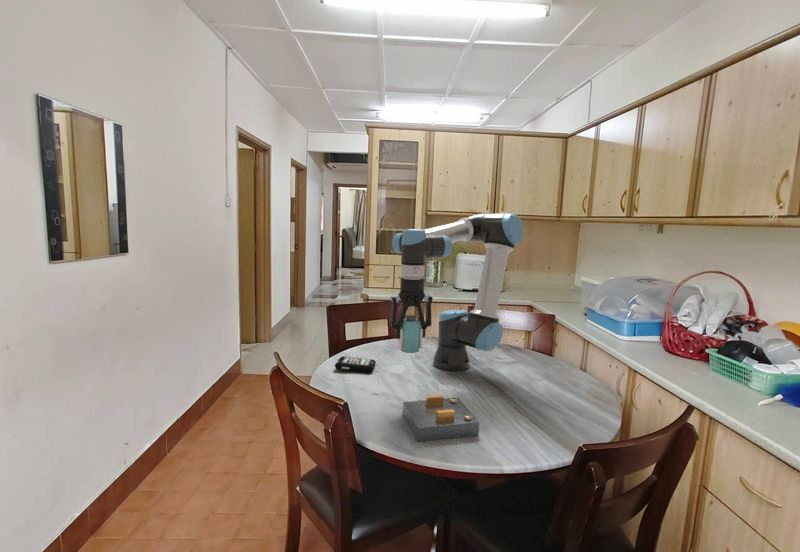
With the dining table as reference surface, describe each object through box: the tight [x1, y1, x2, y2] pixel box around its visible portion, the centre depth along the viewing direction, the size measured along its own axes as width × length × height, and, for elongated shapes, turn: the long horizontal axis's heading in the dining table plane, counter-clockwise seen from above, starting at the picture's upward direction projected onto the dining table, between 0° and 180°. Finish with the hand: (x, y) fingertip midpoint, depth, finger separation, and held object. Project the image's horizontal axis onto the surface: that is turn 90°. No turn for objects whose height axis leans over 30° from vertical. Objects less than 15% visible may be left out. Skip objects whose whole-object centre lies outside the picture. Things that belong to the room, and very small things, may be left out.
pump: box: [400, 314, 421, 354], centre depth 131 cm, size 6×6×12 cm
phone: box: [334, 356, 377, 374], centre depth 162 cm, size 11×15×4 cm
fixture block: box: [402, 394, 480, 443], centre depth 119 cm, size 18×16×6 cm
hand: (410, 347), depth 132 cm, fingers closed on pump, 6 cm apart
